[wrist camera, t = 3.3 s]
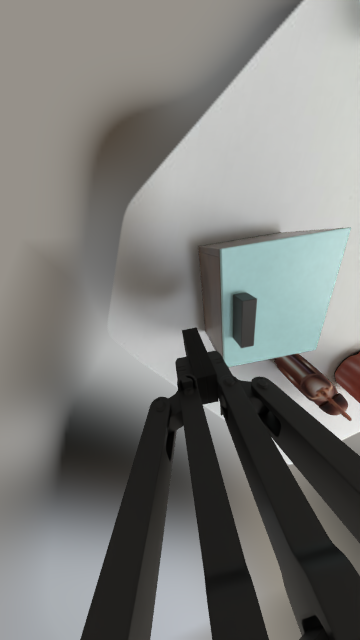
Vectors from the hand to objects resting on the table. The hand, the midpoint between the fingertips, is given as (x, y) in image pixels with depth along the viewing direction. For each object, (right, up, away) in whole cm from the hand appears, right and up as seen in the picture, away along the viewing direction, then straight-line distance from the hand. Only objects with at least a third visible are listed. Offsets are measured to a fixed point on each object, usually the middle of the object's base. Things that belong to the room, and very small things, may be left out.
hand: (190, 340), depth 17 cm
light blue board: (+11, +4, +4) cm, 12 cm away
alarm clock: (+23, -7, +22) cm, 33 cm away
